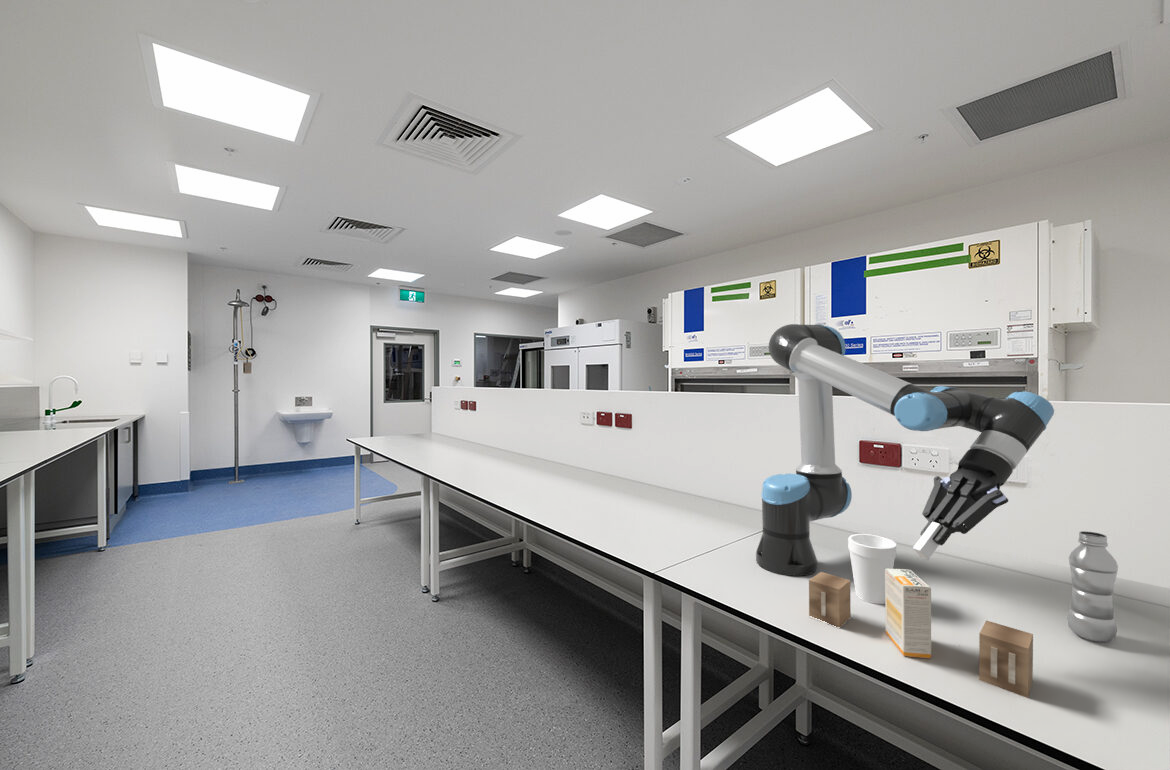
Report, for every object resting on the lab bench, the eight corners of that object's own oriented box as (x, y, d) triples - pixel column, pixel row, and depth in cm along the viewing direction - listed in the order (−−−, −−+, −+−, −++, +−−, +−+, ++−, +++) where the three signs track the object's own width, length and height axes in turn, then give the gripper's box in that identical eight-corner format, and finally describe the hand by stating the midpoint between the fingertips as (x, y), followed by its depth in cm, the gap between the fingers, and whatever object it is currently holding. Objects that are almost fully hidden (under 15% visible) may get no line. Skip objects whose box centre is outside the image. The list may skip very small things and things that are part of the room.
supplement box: (933, 659, 85) (933, 587, 85) (903, 656, 86) (903, 585, 86) (911, 634, 93) (911, 568, 93) (884, 632, 94) (884, 567, 94)
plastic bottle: (1057, 629, 94) (1058, 529, 93) (1088, 627, 94) (1089, 527, 94) (1094, 648, 87) (1096, 541, 87) (1127, 646, 88) (1129, 539, 87)
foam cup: (880, 611, 102) (879, 551, 102) (839, 593, 110) (839, 538, 110) (905, 600, 106) (905, 543, 106) (864, 584, 115) (864, 531, 114)
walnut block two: (978, 680, 79) (979, 633, 79) (985, 665, 83) (986, 620, 83) (1027, 699, 75) (1028, 649, 74) (1032, 681, 79) (1033, 634, 79)
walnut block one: (808, 617, 100) (808, 580, 100) (821, 607, 104) (820, 571, 104) (838, 628, 96) (838, 589, 95) (850, 617, 100) (850, 580, 100)
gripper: (1039, 479, 86) (966, 580, 83) (967, 466, 99) (901, 553, 96) (1017, 452, 85) (942, 554, 82) (947, 442, 98) (879, 529, 94)
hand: (920, 553), depth 89 cm, fingers closed
